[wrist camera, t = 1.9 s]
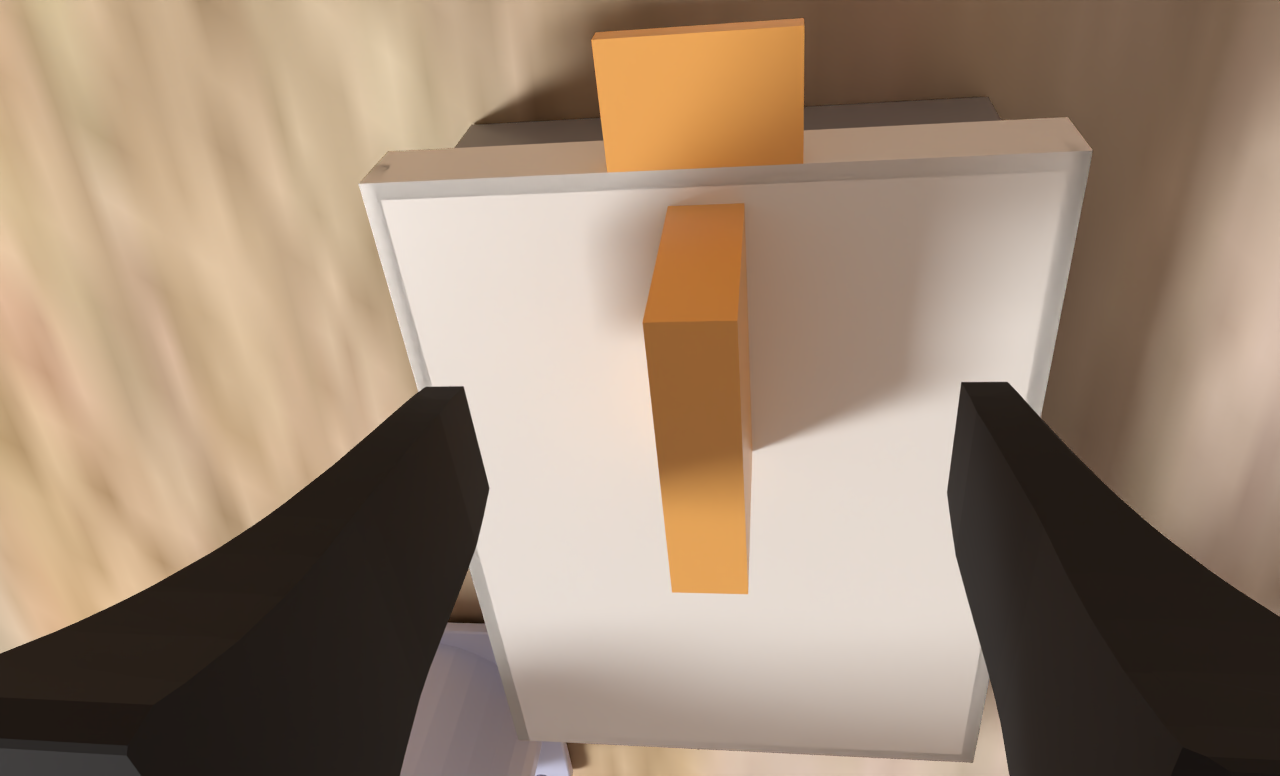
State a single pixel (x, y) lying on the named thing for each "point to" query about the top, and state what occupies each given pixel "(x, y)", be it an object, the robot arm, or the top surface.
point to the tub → (813, 120)
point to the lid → (730, 393)
